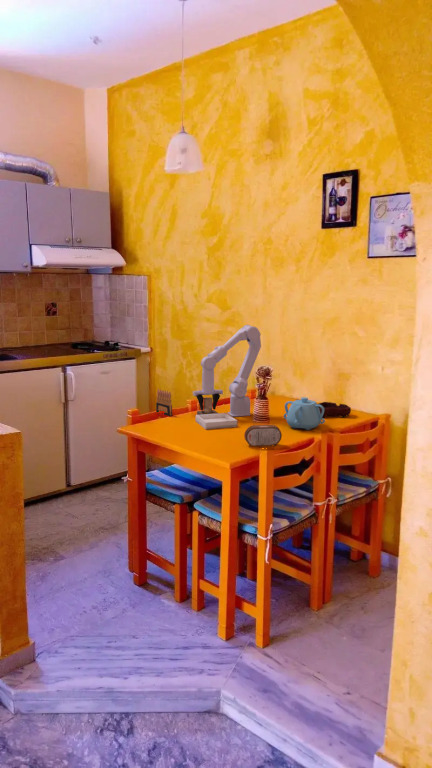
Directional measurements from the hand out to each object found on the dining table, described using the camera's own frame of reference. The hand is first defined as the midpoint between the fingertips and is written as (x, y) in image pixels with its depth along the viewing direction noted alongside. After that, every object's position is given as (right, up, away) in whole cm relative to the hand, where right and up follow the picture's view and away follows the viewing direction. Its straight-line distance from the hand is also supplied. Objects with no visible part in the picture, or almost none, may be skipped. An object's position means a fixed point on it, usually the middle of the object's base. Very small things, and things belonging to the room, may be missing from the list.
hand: (207, 409), depth 283 cm
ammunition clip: (-22, -3, +5) cm, 22 cm away
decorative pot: (+44, -7, -17) cm, 47 cm away
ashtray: (+60, -3, +7) cm, 61 cm away
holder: (0, -3, +1) cm, 3 cm away
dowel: (0, -3, +1) cm, 3 cm away
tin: (+23, -13, -47) cm, 53 cm away
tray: (+4, -6, -14) cm, 15 cm away
